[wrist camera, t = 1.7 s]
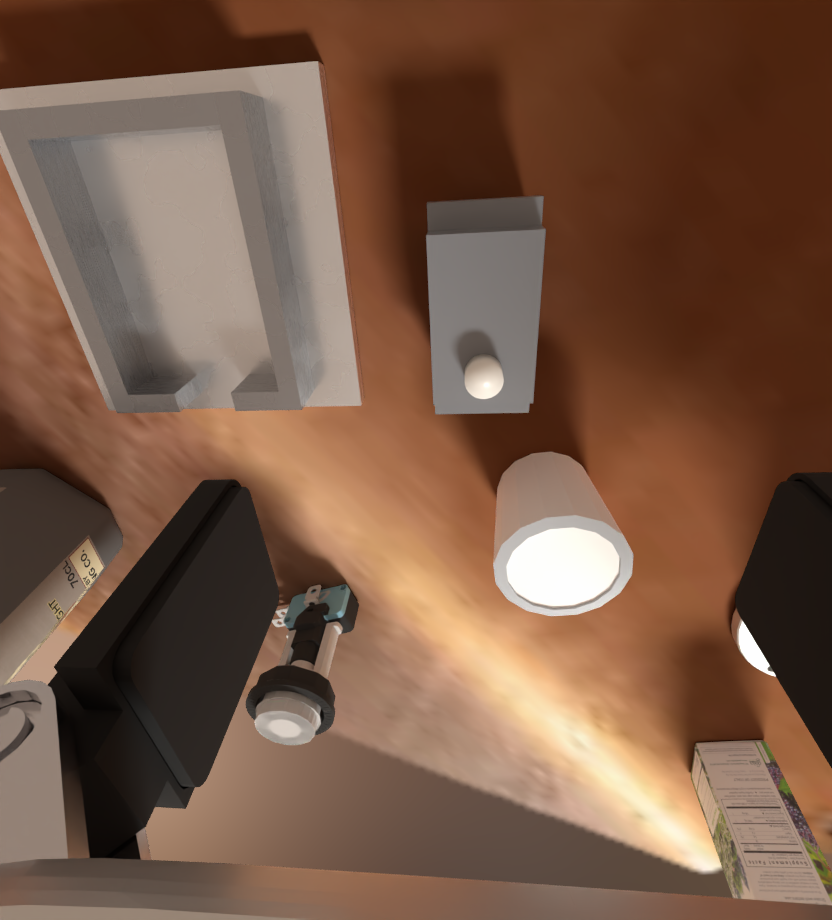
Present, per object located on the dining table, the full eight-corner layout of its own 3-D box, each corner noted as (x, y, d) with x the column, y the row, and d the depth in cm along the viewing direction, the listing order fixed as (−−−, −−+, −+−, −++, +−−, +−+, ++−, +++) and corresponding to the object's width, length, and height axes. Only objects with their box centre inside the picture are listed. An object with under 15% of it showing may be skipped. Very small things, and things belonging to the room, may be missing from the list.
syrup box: (756, 773, 45) (868, 1007, 32) (686, 774, 46) (769, 1002, 33) (765, 738, 42) (892, 980, 30) (690, 740, 43) (783, 975, 31)
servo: (530, 189, 22) (552, 200, 17) (519, 377, 27) (534, 433, 21) (432, 195, 23) (422, 207, 17) (439, 378, 27) (433, 435, 22)
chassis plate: (323, 65, 20) (300, 49, 17) (364, 397, 28) (353, 426, 25) (-7, 93, 22) (-81, 84, 19) (118, 403, 30) (80, 430, 27)
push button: (295, 629, 39) (249, 760, 31) (262, 583, 37) (202, 711, 28) (371, 614, 38) (345, 747, 29) (341, 564, 35) (303, 695, 27)
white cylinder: (482, 529, 32) (486, 612, 27) (493, 439, 29) (501, 512, 23) (587, 536, 32) (616, 623, 26) (612, 446, 29) (651, 522, 23)
